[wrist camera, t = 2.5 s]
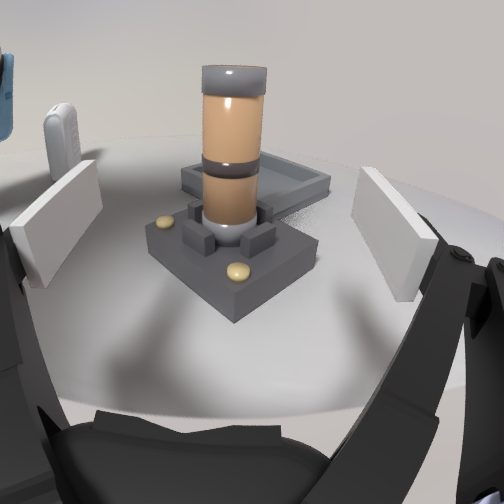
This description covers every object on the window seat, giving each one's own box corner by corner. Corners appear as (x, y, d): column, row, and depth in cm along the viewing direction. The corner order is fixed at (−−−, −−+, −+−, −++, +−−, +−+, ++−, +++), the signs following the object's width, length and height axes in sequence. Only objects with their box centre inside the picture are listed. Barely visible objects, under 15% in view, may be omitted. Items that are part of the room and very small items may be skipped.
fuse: (192, 231, 28) (189, 66, 20) (230, 214, 31) (236, 65, 23) (227, 254, 25) (232, 67, 17) (266, 233, 28) (280, 68, 20)
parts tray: (181, 189, 42) (181, 168, 41) (254, 166, 51) (255, 149, 49) (257, 229, 35) (259, 204, 33) (327, 196, 43) (331, 176, 41)
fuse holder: (148, 252, 30) (142, 208, 27) (225, 219, 36) (226, 179, 33) (233, 323, 23) (235, 272, 21) (313, 267, 30) (322, 222, 27)
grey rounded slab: (64, 164, 52) (56, 101, 45) (84, 160, 53) (78, 97, 46) (49, 184, 44) (38, 112, 37) (72, 180, 45) (62, 106, 38)
